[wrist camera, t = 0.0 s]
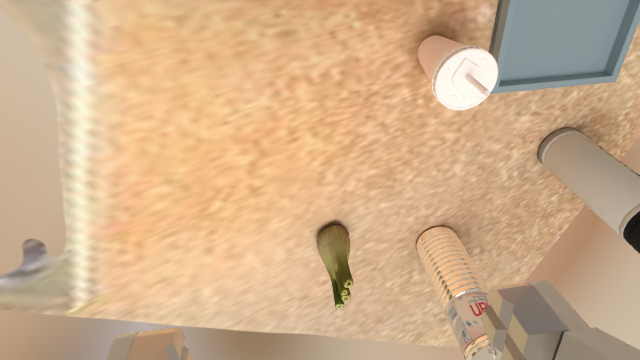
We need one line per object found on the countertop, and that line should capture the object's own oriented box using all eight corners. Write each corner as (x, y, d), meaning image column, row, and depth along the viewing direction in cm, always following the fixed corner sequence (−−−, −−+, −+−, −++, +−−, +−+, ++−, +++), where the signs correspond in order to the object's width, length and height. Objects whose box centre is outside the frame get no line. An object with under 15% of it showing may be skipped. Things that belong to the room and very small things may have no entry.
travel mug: (542, 173, 59) (648, 276, 43) (532, 142, 56) (643, 240, 39) (584, 152, 58) (710, 250, 42) (576, 119, 54) (710, 210, 38)
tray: (510, -62, 41) (522, -60, 39) (656, -72, 42) (675, -71, 40) (482, 86, 50) (491, 93, 48) (602, 75, 51) (615, 81, 49)
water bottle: (464, 234, 65) (556, 386, 44) (435, 260, 68) (509, 414, 47) (435, 218, 62) (519, 372, 42) (406, 246, 65) (471, 403, 44)
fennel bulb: (331, 251, 64) (343, 314, 54) (307, 239, 61) (315, 302, 52) (355, 229, 61) (372, 290, 52) (331, 215, 59) (344, 276, 49)
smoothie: (457, 15, 45) (524, 53, 33) (460, 69, 48) (521, 119, 37) (402, 32, 45) (449, 75, 34) (409, 84, 49) (454, 139, 37)
